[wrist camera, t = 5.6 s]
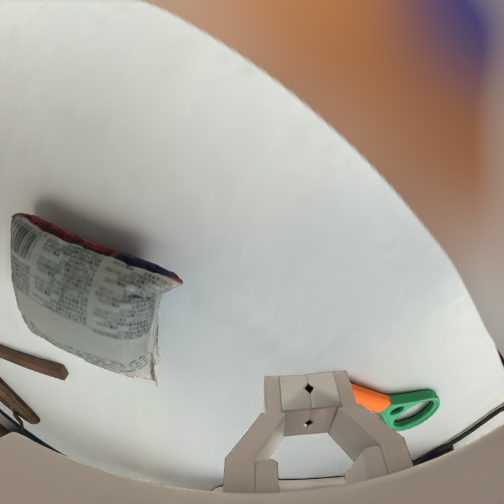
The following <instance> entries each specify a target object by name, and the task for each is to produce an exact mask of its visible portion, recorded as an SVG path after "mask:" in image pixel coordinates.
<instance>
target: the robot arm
mask: <svg viewBox="0 0 504 504" xmlns="http://www.w3.org/2000/svg"><path fill="white" fill-rule="evenodd" d="M496 348H497V347H496ZM497 351H498V354H499V357H500V360H501V363H502V364H503V366H504V358H503V356H502V355H501V353H500V352H499V350H498V349H497ZM502 411H504V406H502V407H500V408H499V409H497V410H496V411H494V412H493V413H491V414H490V415H488V416H487V417H486V418H484V419H483V420H481V421H480V422H479V423H477V424H476V425H474V426H473V427H472V428H470V429H469V430H467V431H466V432H464V433H463V434H461V435H460V436H458V437H457V438H455V439H453V440H452V441H450V442H449V443H447V444H445V445H444V446H442V447H440V448H439V449H438V450H437V452H436V453H439V452H442V451H444V450H445V449H447V448H448V447H450V446H452V445H453V444H455V443H456V442H458V441H460V440H461V439H463V438H464V437H466V436H467V435H469V434H470V433H472V432H473V431H475V430H476V429H477V428H479V427H480V426H482V425H483V424H484V423H486V422H487V421H489V420H490V419H491V418H493V417H494V416H496V415H497V414H499V413H500V412H502ZM326 432H328V434H329V435H330V436H331V437H332V438H333V439H334V440H335V442H336V443H337V444H338V445H339V446H340V447H341V448H342V449H343V450H344V451H345V452H346V453H347V454H348V455H349V456H350V458H351V459H352V460H353V461H354V464H353V465H352V466H351V467H350V469H349V470H348V471H347V472H346V474H345V477H335V478H324V479H310V480H279V477H278V462H276V461H275V460H273V459H270V458H271V456H272V454H273V453H274V451H275V450H276V448H277V447H278V445H279V443H280V442H281V440H282V439H283V436H293V435H303V434H315V433H326ZM421 461H422V460H416V461H414V462H412V460H411V457H410V454H409V451H408V448H407V445H406V442H405V439H404V437H402V436H401V435H400V434H398V433H397V432H396V431H394V430H393V429H392V428H391V427H389V426H388V425H387V424H385V423H384V422H383V421H381V420H380V419H379V418H378V417H376V416H375V415H374V414H372V413H371V412H370V411H369V410H367V409H366V408H365V407H364V406H362V405H361V404H358V405H357V403H356V400H355V396H354V393H353V390H352V387H351V383H350V380H349V377H348V374H347V372H346V371H338V372H326V373H316V374H305V375H287V376H264V413H261V414H260V415H259V417H258V418H257V419H256V421H255V422H254V423H253V424H252V426H251V427H250V428H249V430H248V431H247V432H246V433H245V435H244V436H243V437H242V438H241V440H240V441H239V442H238V443H237V445H236V446H235V447H234V448H233V449H232V451H231V452H230V453H229V454H228V455H227V457H226V458H225V466H224V479H223V486H221V487H217V488H215V489H213V490H212V492H210V491H200V490H191V489H184V488H177V487H171V486H165V485H160V484H155V483H150V482H145V481H141V480H137V479H133V478H129V477H125V476H121V475H118V474H114V473H111V472H108V471H104V470H101V469H98V468H95V467H92V466H90V465H87V464H84V463H81V462H79V461H76V460H74V459H71V458H69V457H66V456H64V455H62V454H59V453H57V452H55V451H53V450H50V449H48V448H46V447H44V446H42V445H40V444H38V443H36V442H34V441H32V440H30V439H28V438H26V437H25V436H23V435H21V434H19V433H16V432H11V433H9V434H7V435H5V436H3V437H1V438H0V504H504V423H503V424H502V425H500V426H498V427H497V428H495V429H493V430H492V431H490V432H488V433H487V434H485V435H483V436H481V437H479V438H477V439H476V440H474V441H472V442H470V443H468V444H466V445H464V446H462V447H460V448H458V449H455V450H453V451H451V452H449V453H447V454H444V455H442V456H440V457H437V458H435V459H432V460H430V461H427V462H424V463H422V464H419V463H420V462H421ZM417 464H419V465H417ZM415 465H416V466H415Z"/></svg>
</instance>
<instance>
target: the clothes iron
mask: <svg viewBox="0 0 504 504" xmlns="http://www.w3.org/2000/svg"><path fill="white" fill-rule="evenodd" d="M0 401H1V402H2V403H3V404H4V405H5V406H7V407H8V408H9V409H10V410H12V412H13V416H14V417H15V418H16V420H17V421H18V422H19V423H20V425H21V430H20V434H21V435H22V434H23V422H22V420H21V419H20V418H19V416H20V417H21V418H23V419H24V420H26V421H27V422H29V423H30V424H37V423H39V422H40V419H39V418H38V417H37V415H36V414H35V413H34V412H33V411H32V410H31V409H30V408H29V407H28V406H27V405H26V404H25V403H24V402H23V401H22V400H21V399H20V398H19V397H18V396H17V395H16V394H15V393H14V392H13V391H12V389H11V388H10V387H9V386H8V385H7V384H6V383H5V382H4V381H3V380H2V379H1V378H0ZM9 433H11V432H10V431H9V430H7V429H6V428H5V427H4V426H2V425H1V424H0V435H1V436H5V435H7V434H9Z"/></svg>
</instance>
